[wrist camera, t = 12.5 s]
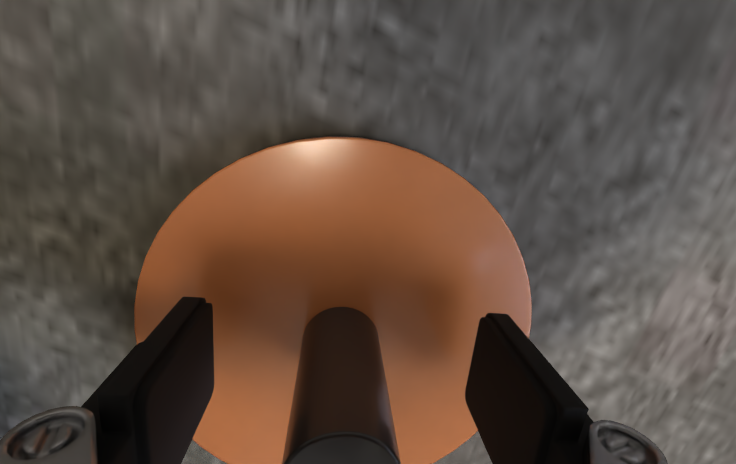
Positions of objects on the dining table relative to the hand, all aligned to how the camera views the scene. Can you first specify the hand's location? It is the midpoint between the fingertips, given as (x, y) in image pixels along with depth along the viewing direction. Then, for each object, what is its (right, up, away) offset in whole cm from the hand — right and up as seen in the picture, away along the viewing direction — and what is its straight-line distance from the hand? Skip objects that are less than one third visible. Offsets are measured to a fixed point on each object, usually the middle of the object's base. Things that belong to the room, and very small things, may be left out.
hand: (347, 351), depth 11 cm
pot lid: (0, 0, +2) cm, 2 cm away
